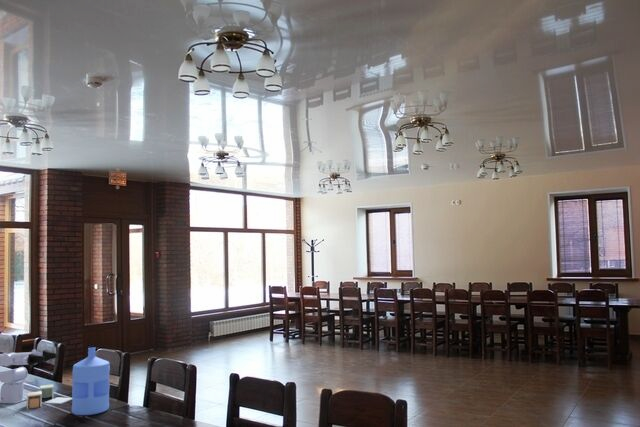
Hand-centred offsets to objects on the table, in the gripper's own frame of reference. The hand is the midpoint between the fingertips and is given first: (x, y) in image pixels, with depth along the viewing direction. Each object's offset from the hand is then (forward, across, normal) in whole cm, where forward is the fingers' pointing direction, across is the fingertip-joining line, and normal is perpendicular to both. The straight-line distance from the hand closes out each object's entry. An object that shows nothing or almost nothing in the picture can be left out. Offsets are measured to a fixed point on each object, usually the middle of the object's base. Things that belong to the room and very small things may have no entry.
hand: (50, 357), depth 253 cm
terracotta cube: (-5, -6, +21) cm, 23 cm away
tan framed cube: (-5, -6, +21) cm, 23 cm away
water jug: (+26, -8, +24) cm, 36 cm away
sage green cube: (-9, +7, +21) cm, 24 cm away
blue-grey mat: (+1, +4, +22) cm, 22 cm away
